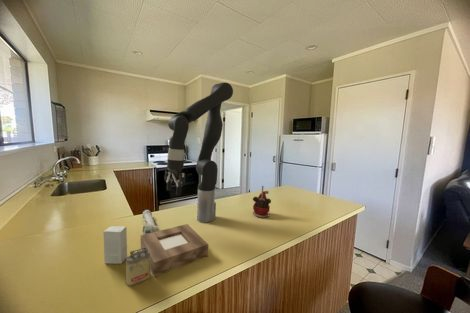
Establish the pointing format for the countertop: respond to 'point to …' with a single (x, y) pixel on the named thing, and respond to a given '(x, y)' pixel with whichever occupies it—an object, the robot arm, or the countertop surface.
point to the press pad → (172, 241)
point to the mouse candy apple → (261, 205)
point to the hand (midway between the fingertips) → (173, 192)
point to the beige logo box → (137, 266)
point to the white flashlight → (149, 223)
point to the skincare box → (115, 244)
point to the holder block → (173, 249)
